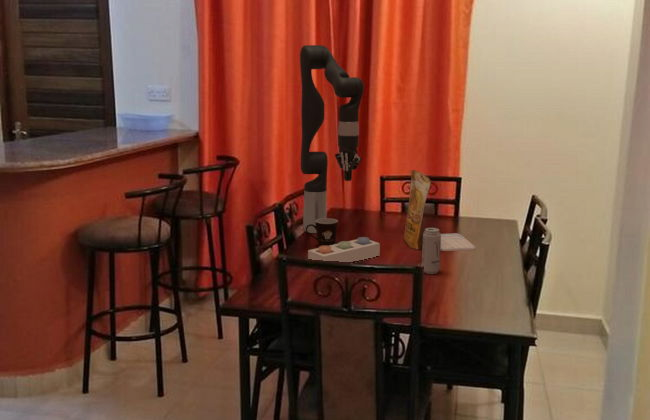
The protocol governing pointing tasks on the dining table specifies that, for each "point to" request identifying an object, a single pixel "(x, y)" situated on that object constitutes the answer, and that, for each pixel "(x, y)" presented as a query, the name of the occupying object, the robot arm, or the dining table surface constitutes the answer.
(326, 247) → the button terracotta
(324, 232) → the coffee mug
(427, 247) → the energy drink can
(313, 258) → the console
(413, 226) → the pancake mix bag
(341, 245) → the button sage
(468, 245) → the calculator
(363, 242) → the button slate
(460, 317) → the dining table surface
